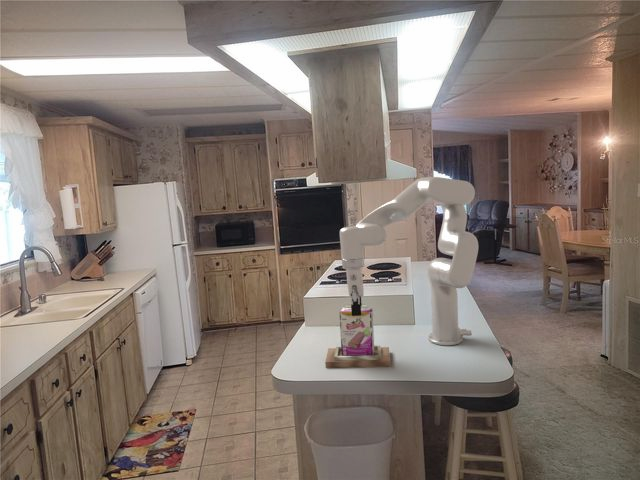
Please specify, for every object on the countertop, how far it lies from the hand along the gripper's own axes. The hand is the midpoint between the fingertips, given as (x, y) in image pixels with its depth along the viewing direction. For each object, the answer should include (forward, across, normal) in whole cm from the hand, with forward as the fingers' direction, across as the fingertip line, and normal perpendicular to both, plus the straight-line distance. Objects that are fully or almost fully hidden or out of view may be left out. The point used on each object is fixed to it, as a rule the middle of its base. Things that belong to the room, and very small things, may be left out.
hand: (356, 311), depth 150 cm
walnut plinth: (+18, 0, +1) cm, 18 cm away
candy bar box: (+16, -1, +1) cm, 16 cm away
